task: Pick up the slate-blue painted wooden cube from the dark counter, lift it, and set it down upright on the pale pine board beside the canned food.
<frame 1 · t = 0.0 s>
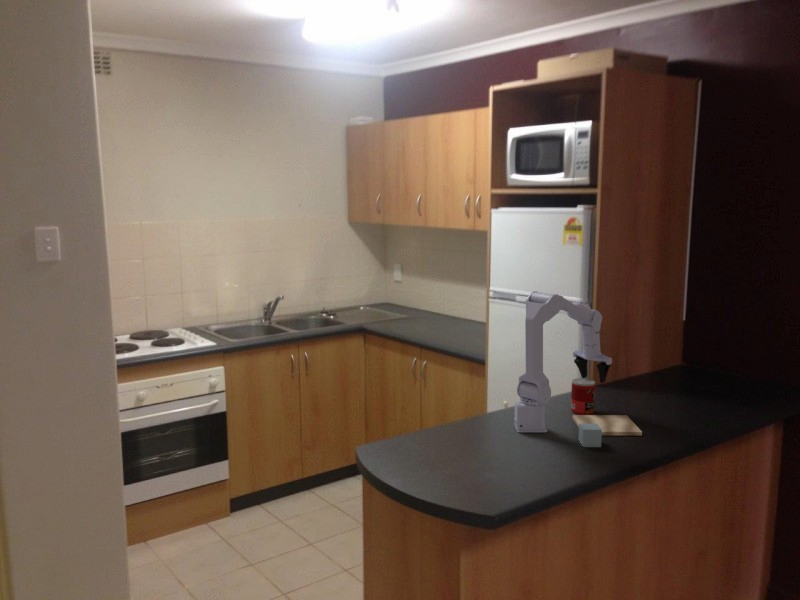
hand: (593, 379, 246), 11 cm above the table, tool pointing down, fingers open, 7 cm apart
cube: (589, 443, 215), on the table
board: (605, 426, 230), on the table
canned food: (582, 412, 245), on the table
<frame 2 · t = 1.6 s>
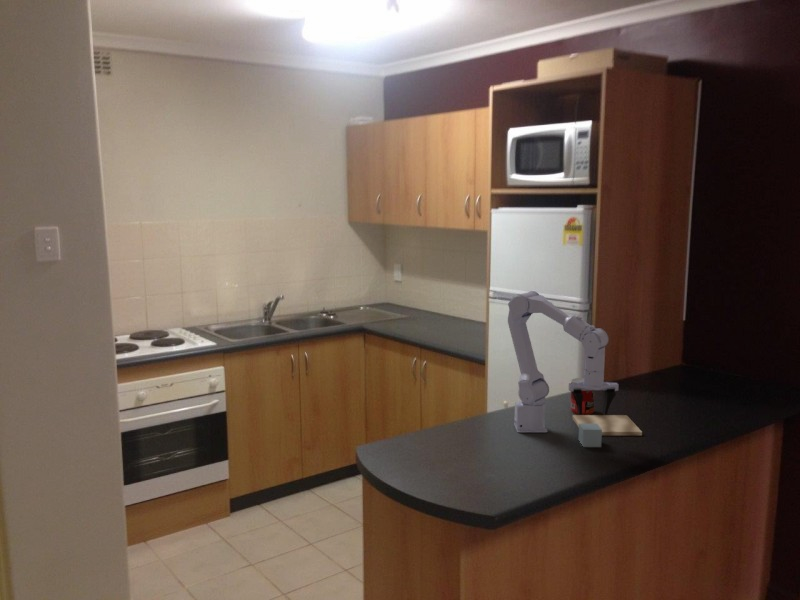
hand: (592, 413, 214), 9 cm above the table, tool pointing down, fingers open, 7 cm apart
nothing on the table moved.
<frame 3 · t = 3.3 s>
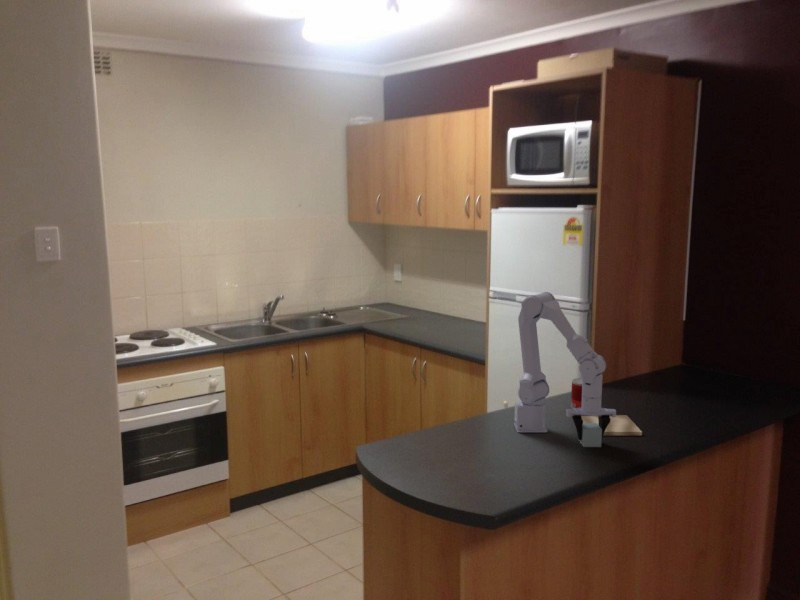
hand: (589, 439, 215), 1 cm above the table, tool pointing down, fingers closed on cube, 5 cm apart
cube: (589, 443, 215), on the table, touching gripper
everything else where it was.
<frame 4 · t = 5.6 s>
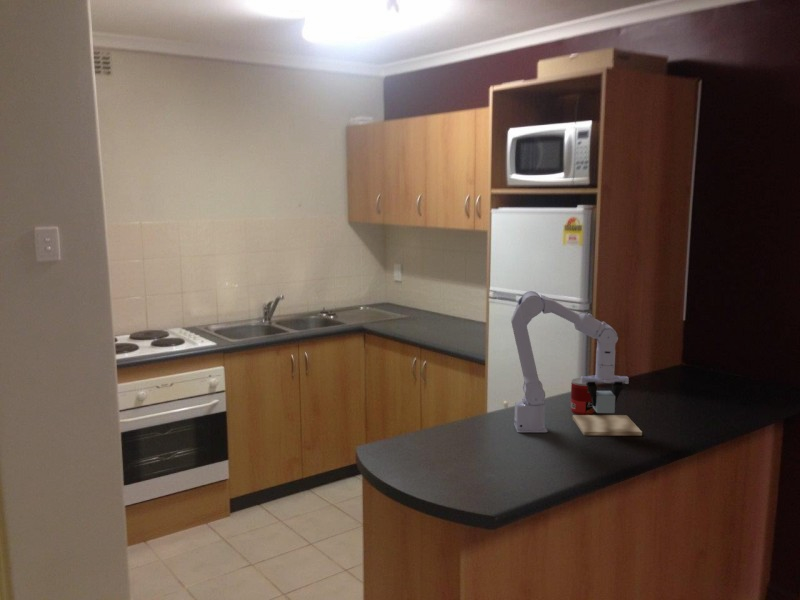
hand: (603, 405, 225), 8 cm above the table, tool pointing down, fingers closed on cube, 5 cm apart
cube: (603, 410, 225), point 7 cm above the table, touching gripper
everything else where it was.
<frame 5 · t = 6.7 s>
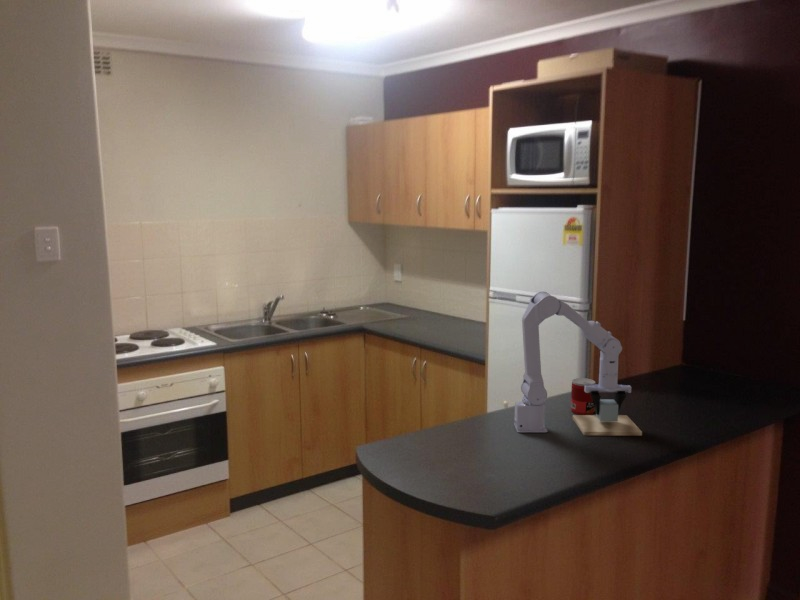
hand: (606, 413, 229), 4 cm above the table, tool pointing down, fingers closed on cube, 5 cm apart
cube: (606, 418, 229), point 3 cm above the table, touching gripper
everything else where it was.
when the fingers open (4 cm above the table, at t = 7.7 s): cube drops 1 cm, resting on board.
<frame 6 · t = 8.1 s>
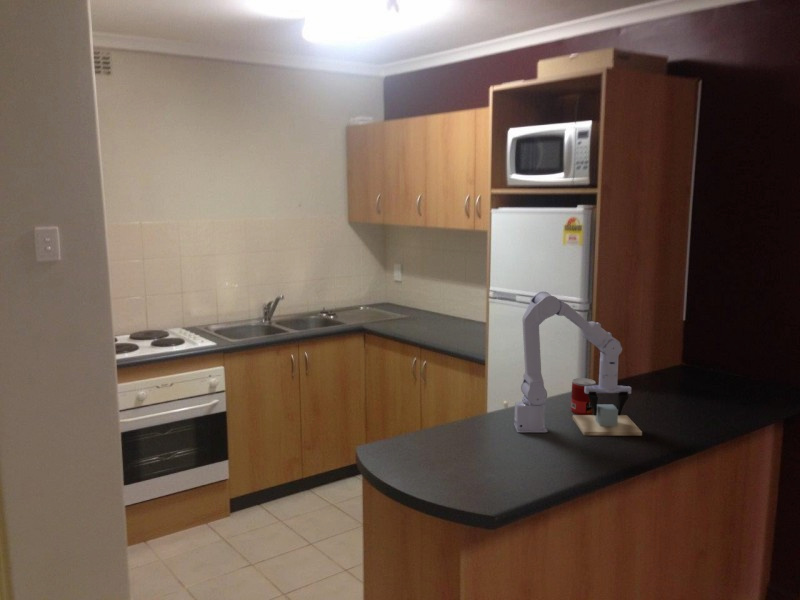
hand: (606, 414, 229), 4 cm above the table, tool pointing down, fingers open, 7 cm apart
cube: (606, 423, 229), point 1 cm above the table, touching board
everything else where it was.
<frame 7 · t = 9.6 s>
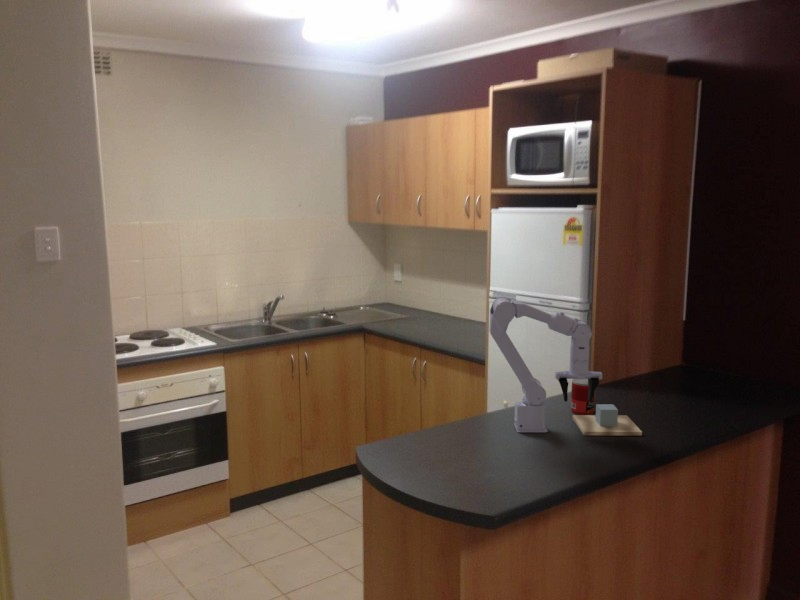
hand: (577, 400, 226), 9 cm above the table, tool pointing down, fingers open, 7 cm apart
nothing on the table moved.
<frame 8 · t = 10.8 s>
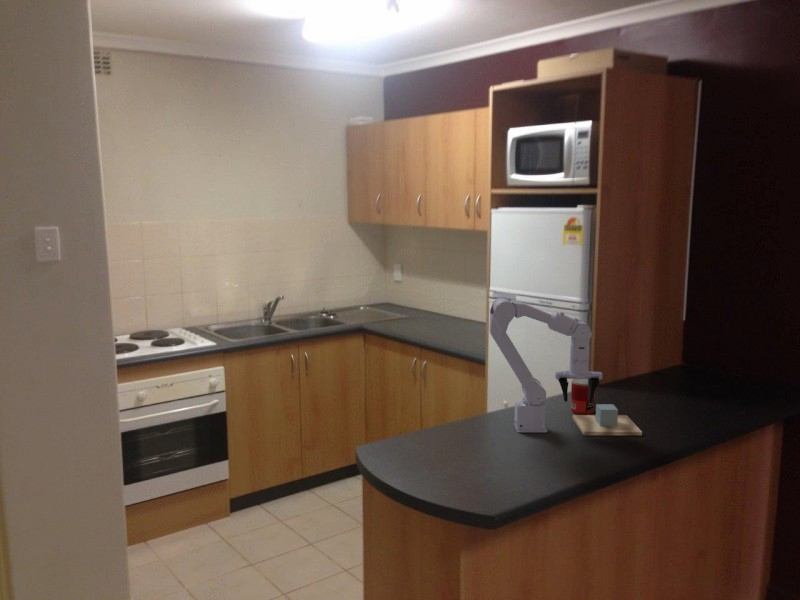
hand: (577, 400, 226), 9 cm above the table, tool pointing down, fingers open, 7 cm apart
nothing on the table moved.
at the end: cube inside the target area on the board (0.2 cm from its centre), point 1.2 cm above the board's base; cube tilted 0°; the gripper is holding nothing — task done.
